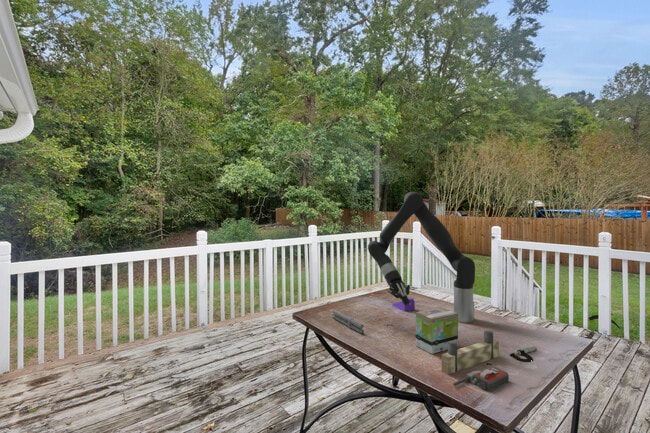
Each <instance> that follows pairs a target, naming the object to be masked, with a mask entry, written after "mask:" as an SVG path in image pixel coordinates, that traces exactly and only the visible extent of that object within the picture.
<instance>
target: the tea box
mask: <svg viewBox="0 0 650 433" xmlns="http://www.w3.org/2000/svg"><path fill="white" fill-rule="evenodd" d="M448 341H455V342H457V348H459V347H458V346H459V321H458V313H456V312H454V310H450V309H447V308H444V307H441V306H440V307H436V308H431V309H426V310H420V311H416V312H415V346H416V347H418V348H420V349H422V350H423V351H425V352H427V353H429V354H431V355H434V354H437V353H439V352H443V351H448Z"/></svg>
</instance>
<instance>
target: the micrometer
mask: <svg viewBox="0 0 650 433" xmlns="http://www.w3.org/2000/svg"><path fill="white" fill-rule="evenodd" d="M537 350H538V348H537V347H536V346H533V345H532V346H527V347H524V348H519V349H518V350H516V352H511V353H509V356H510V357H512V358H513V359H515V360H516V361H518V362H522V363H532V362H534V358H533V356H531V355H530V353H534V352H536V351H537ZM533 351H534V352H533ZM518 355H520V356H522V357H525V358H521V357H519V356H518ZM531 360H532V362H531Z"/></svg>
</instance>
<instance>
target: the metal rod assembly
mask: <svg viewBox="0 0 650 433" xmlns="http://www.w3.org/2000/svg"><path fill="white" fill-rule="evenodd" d="M332 313H333V315H332V318H333V319H335V320H336V321H338V322H340V323H342V324H343V325H345V326H347V327H348V328H349V329H351V330H352V329H353V330H355V331H356V332H358V333H360V334H361V335H363V334H364V331H365V330H364V327H365V326H364V324H363V323H361V322H359V321H357V320H355V319H354V318H352V317H349V316H348V315H346V314H345V313H344V314H343V313H342V312H340V311H338V310H336V309H333V310H332Z"/></svg>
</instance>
